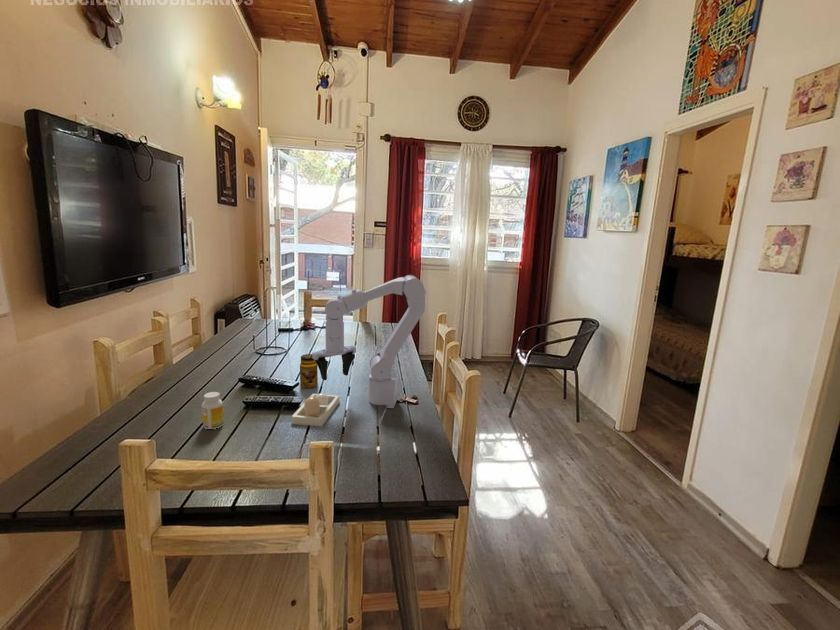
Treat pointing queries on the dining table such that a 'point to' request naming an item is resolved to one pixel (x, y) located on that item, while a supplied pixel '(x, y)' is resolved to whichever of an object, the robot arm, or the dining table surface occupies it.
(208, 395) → the supplement bottle
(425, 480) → the dining table surface
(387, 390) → the robot arm
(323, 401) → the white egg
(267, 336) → the dining table surface
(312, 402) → the brown egg
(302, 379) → the condiment
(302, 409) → the holder
